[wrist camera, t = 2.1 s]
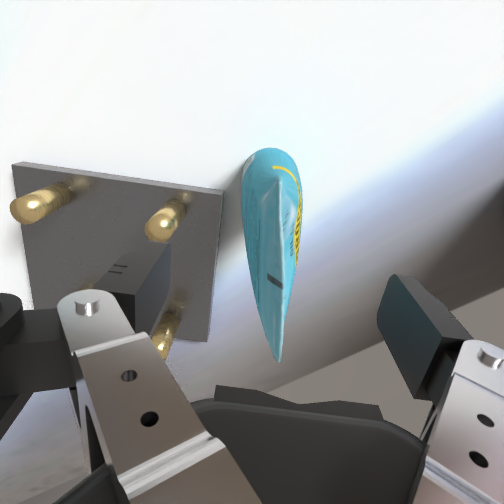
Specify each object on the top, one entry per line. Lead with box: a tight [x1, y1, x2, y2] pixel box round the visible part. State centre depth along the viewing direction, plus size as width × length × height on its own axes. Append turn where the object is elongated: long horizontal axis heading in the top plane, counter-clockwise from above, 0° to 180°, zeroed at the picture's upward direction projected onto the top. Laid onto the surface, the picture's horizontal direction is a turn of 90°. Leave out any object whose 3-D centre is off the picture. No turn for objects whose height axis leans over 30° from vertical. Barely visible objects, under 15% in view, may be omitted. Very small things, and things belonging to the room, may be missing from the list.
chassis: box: [10, 162, 224, 361], centre depth 31 cm, size 18×16×6 cm
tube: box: [241, 148, 303, 363], centre depth 21 cm, size 7×5×19 cm, turn 6°
